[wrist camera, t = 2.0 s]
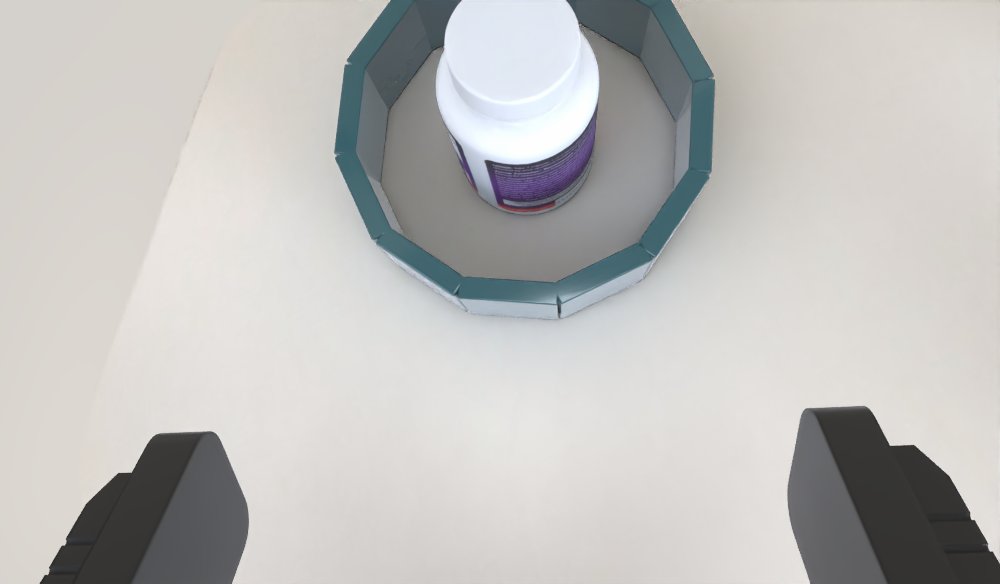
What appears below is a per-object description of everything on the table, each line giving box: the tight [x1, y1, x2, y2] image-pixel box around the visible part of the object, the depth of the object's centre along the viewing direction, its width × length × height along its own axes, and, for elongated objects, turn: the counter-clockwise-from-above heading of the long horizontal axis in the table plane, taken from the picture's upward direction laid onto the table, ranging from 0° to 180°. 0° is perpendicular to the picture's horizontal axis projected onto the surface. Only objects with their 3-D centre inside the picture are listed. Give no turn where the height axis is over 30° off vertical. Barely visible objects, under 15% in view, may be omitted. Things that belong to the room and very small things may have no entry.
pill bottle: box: [436, 0, 599, 215], centre depth 27 cm, size 5×5×10 cm
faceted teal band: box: [334, 0, 715, 320], centre depth 30 cm, size 14×14×4 cm
